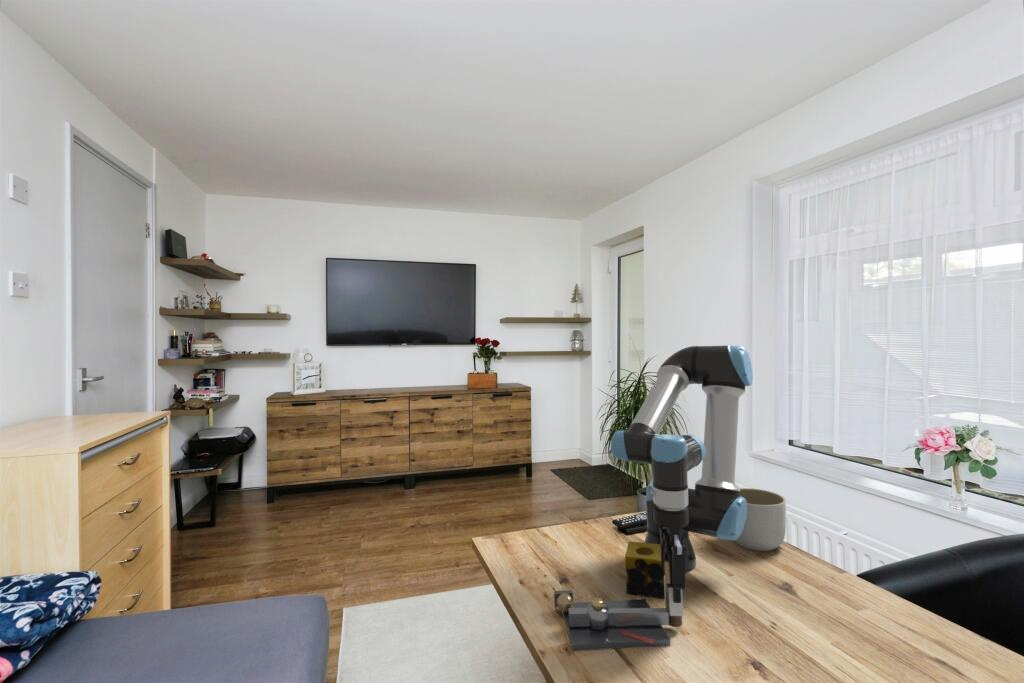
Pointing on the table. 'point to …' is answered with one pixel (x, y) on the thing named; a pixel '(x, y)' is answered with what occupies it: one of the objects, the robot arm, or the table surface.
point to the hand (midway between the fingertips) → (673, 609)
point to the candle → (644, 570)
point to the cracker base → (613, 633)
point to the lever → (625, 614)
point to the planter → (763, 520)
